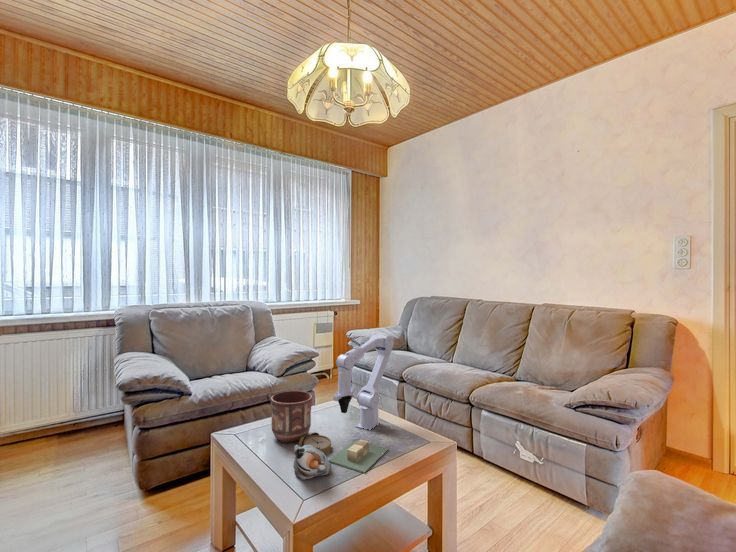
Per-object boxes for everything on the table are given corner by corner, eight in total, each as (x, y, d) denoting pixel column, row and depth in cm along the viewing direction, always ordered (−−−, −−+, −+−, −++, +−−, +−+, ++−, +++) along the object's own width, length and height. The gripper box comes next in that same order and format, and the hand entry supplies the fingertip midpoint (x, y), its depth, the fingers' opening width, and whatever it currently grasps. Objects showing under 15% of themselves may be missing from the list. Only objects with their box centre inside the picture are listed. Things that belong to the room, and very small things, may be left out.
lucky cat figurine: (338, 468, 134) (338, 444, 127) (317, 496, 125) (316, 472, 118) (307, 447, 140) (306, 424, 134) (285, 472, 132) (282, 448, 125)
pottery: (288, 450, 147) (289, 406, 147) (262, 438, 157) (262, 397, 157) (319, 435, 161) (320, 395, 161) (293, 425, 171) (293, 387, 171)
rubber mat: (355, 441, 156) (355, 439, 156) (388, 450, 148) (388, 448, 148) (328, 461, 139) (328, 460, 139) (364, 473, 131) (364, 471, 131)
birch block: (360, 439, 148) (347, 449, 139) (369, 441, 146) (356, 452, 137) (360, 448, 148) (347, 459, 139) (368, 451, 146) (356, 462, 137)
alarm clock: (315, 453, 140) (293, 434, 150) (314, 464, 140) (292, 445, 151) (337, 443, 148) (314, 426, 158) (335, 454, 149) (313, 436, 159)
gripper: (343, 387, 153) (342, 419, 153) (360, 379, 165) (359, 409, 165) (329, 384, 156) (328, 416, 156) (347, 377, 169) (346, 406, 169)
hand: (343, 412), depth 161 cm, fingers closed
